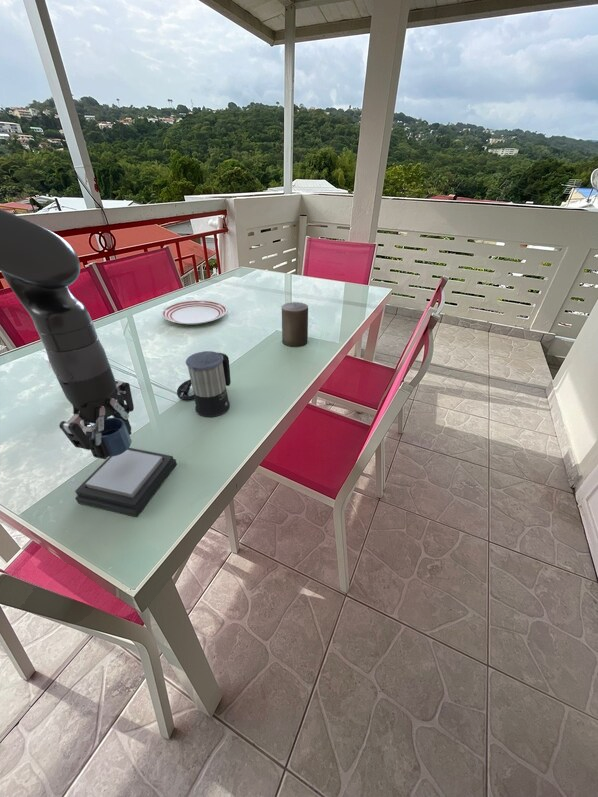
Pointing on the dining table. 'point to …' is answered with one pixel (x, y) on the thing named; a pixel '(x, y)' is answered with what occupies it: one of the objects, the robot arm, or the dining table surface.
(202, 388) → the milk frother
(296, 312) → the pillar candle
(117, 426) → the blue cup
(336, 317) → the dining table surface
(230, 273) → the dining table surface
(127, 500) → the scale
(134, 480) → the pan
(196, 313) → the dinner plate
